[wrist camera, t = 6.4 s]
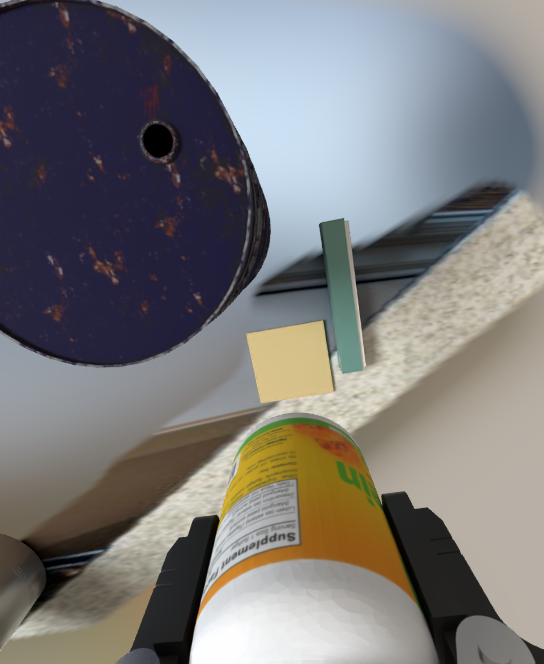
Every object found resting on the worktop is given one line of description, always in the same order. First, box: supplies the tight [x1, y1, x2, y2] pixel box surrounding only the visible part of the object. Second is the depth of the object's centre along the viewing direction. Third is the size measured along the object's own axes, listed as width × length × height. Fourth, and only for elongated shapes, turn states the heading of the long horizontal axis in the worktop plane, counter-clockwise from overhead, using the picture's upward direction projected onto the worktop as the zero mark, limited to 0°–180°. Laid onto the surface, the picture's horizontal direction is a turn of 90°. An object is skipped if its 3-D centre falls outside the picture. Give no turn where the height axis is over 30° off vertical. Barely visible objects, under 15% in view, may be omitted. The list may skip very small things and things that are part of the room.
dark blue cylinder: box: [0, 0, 271, 368], centre depth 16 cm, size 10×10×15 cm
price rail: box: [319, 218, 366, 374], centre depth 24 cm, size 2×11×2 cm, turn 11°
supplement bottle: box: [189, 413, 440, 664], centre depth 9 cm, size 5×5×10 cm
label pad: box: [246, 320, 334, 403], centre depth 26 cm, size 6×6×1 cm
